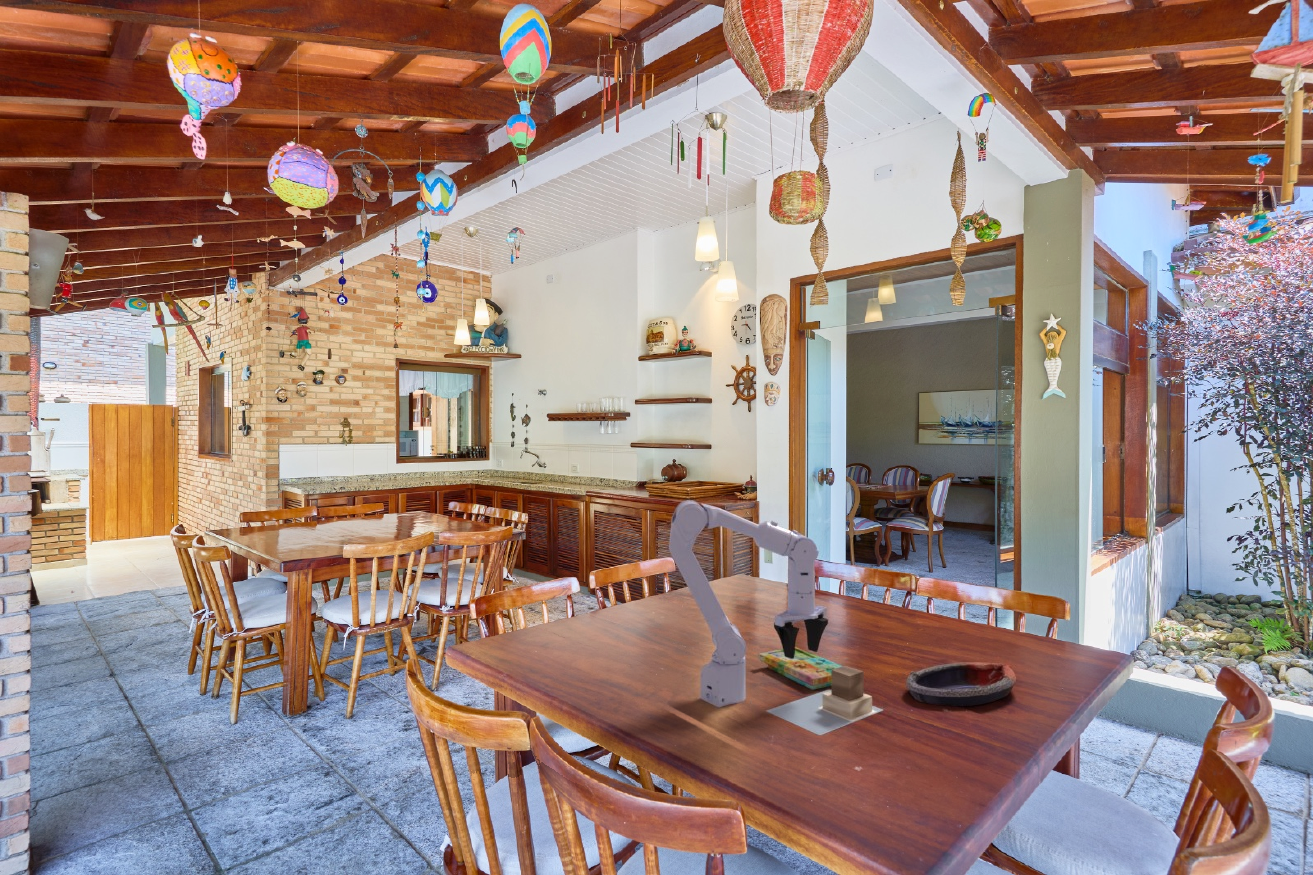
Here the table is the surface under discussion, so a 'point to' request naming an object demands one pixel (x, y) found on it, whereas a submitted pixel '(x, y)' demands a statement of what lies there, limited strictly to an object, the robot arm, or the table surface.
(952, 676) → the dish
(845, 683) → the walnut block
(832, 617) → the table surface
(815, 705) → the board
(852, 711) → the maple block
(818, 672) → the puzzle game
